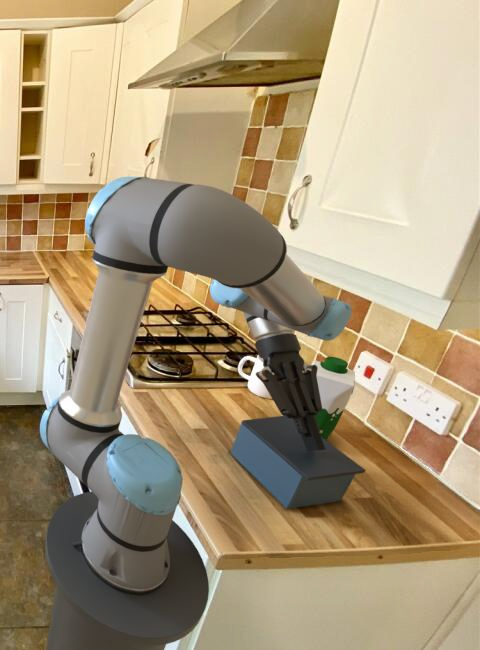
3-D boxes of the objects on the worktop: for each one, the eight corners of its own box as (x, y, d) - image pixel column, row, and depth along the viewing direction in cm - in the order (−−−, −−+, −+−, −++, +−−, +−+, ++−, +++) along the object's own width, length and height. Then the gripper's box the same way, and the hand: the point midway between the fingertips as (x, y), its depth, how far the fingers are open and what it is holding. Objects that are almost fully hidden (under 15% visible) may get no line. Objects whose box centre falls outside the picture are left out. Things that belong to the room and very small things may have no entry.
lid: (364, 473, 79) (365, 470, 79) (306, 480, 77) (308, 477, 77) (290, 417, 94) (291, 414, 93) (241, 423, 92) (242, 420, 92)
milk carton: (328, 431, 102) (362, 363, 94) (326, 451, 96) (362, 380, 88) (286, 417, 108) (314, 350, 99) (281, 434, 101) (310, 365, 93)
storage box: (340, 501, 84) (358, 469, 80) (286, 509, 82) (302, 476, 78) (277, 447, 98) (290, 417, 94) (230, 453, 96) (241, 423, 92)
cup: (275, 403, 113) (288, 372, 108) (228, 384, 121) (238, 354, 117) (285, 391, 118) (297, 361, 113) (238, 374, 126) (248, 345, 121)
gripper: (285, 339, 94) (326, 447, 86) (234, 344, 92) (272, 454, 84) (315, 329, 87) (363, 445, 79) (260, 334, 85) (304, 453, 77)
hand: (316, 450), depth 82 cm, fingers closed
